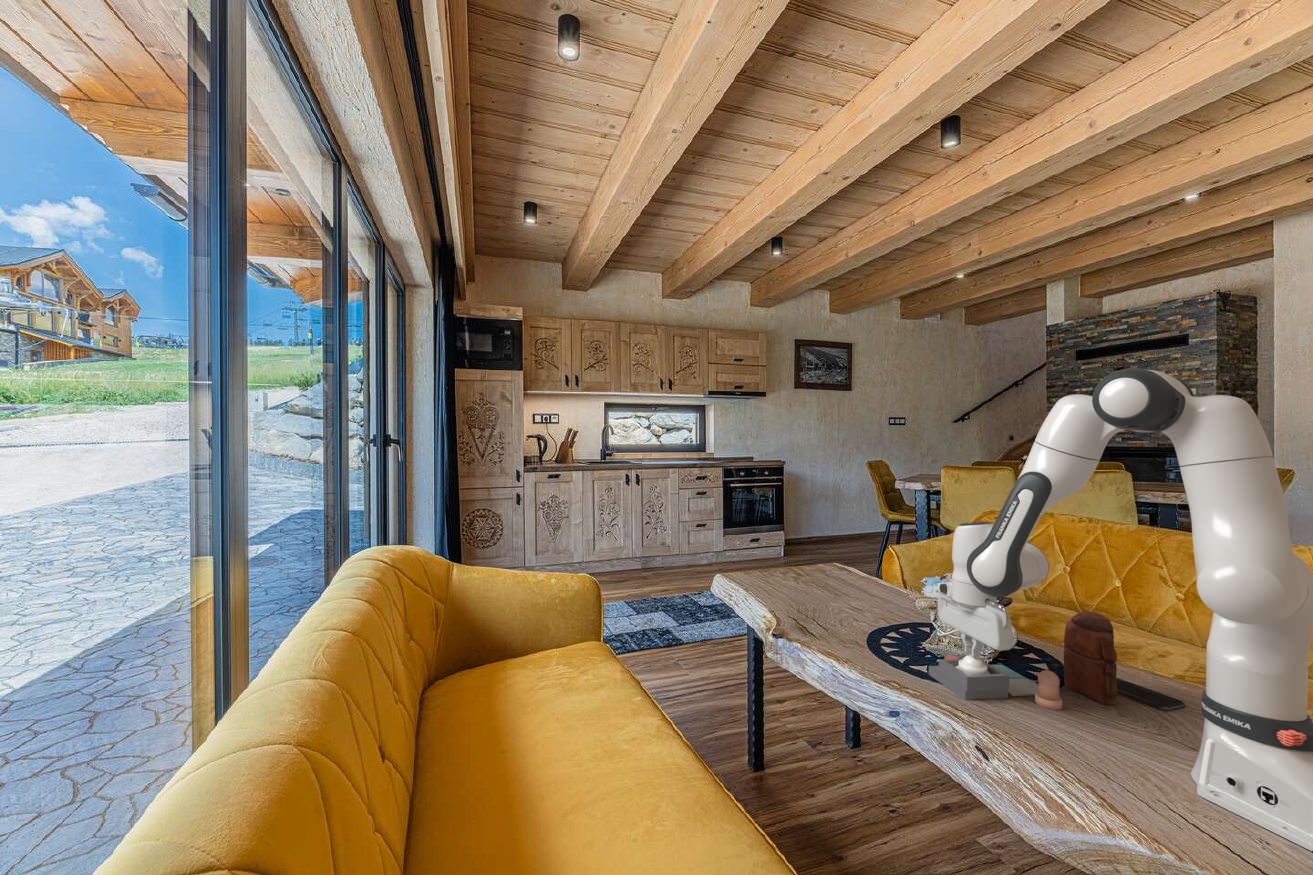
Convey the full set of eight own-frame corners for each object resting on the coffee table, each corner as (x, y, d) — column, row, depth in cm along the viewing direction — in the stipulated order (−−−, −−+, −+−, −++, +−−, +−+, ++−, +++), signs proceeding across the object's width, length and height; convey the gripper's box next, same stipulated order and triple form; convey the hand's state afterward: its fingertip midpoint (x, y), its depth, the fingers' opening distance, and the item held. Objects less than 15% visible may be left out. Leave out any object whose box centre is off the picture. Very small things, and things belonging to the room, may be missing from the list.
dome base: (1009, 698, 121) (1009, 675, 121) (966, 700, 120) (966, 677, 120) (967, 673, 134) (968, 652, 134) (928, 674, 133) (929, 653, 133)
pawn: (1068, 709, 117) (1068, 675, 117) (1047, 710, 116) (1047, 676, 116) (1049, 698, 121) (1049, 666, 122) (1029, 699, 121) (1029, 666, 121)
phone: (1164, 708, 116) (1087, 678, 130) (1164, 714, 116) (1087, 683, 130) (1188, 703, 119) (1110, 674, 133) (1188, 708, 119) (1110, 679, 133)
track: (1053, 694, 124) (1053, 692, 124) (1011, 696, 122) (1011, 694, 122) (1001, 666, 139) (1001, 664, 139) (964, 667, 138) (964, 665, 138)
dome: (998, 685, 122) (998, 661, 122) (968, 686, 121) (969, 662, 122) (976, 672, 129) (976, 649, 129) (948, 673, 128) (948, 650, 128)
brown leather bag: (1130, 704, 119) (1131, 619, 120) (1106, 707, 118) (1107, 621, 118) (1077, 681, 131) (1078, 603, 131) (1055, 683, 130) (1056, 605, 130)
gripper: (1022, 607, 116) (1021, 674, 116) (957, 581, 136) (956, 638, 136) (994, 607, 115) (992, 675, 115) (933, 582, 135) (932, 639, 135)
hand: (972, 655), depth 125 cm, fingers closed, pressing on dome
